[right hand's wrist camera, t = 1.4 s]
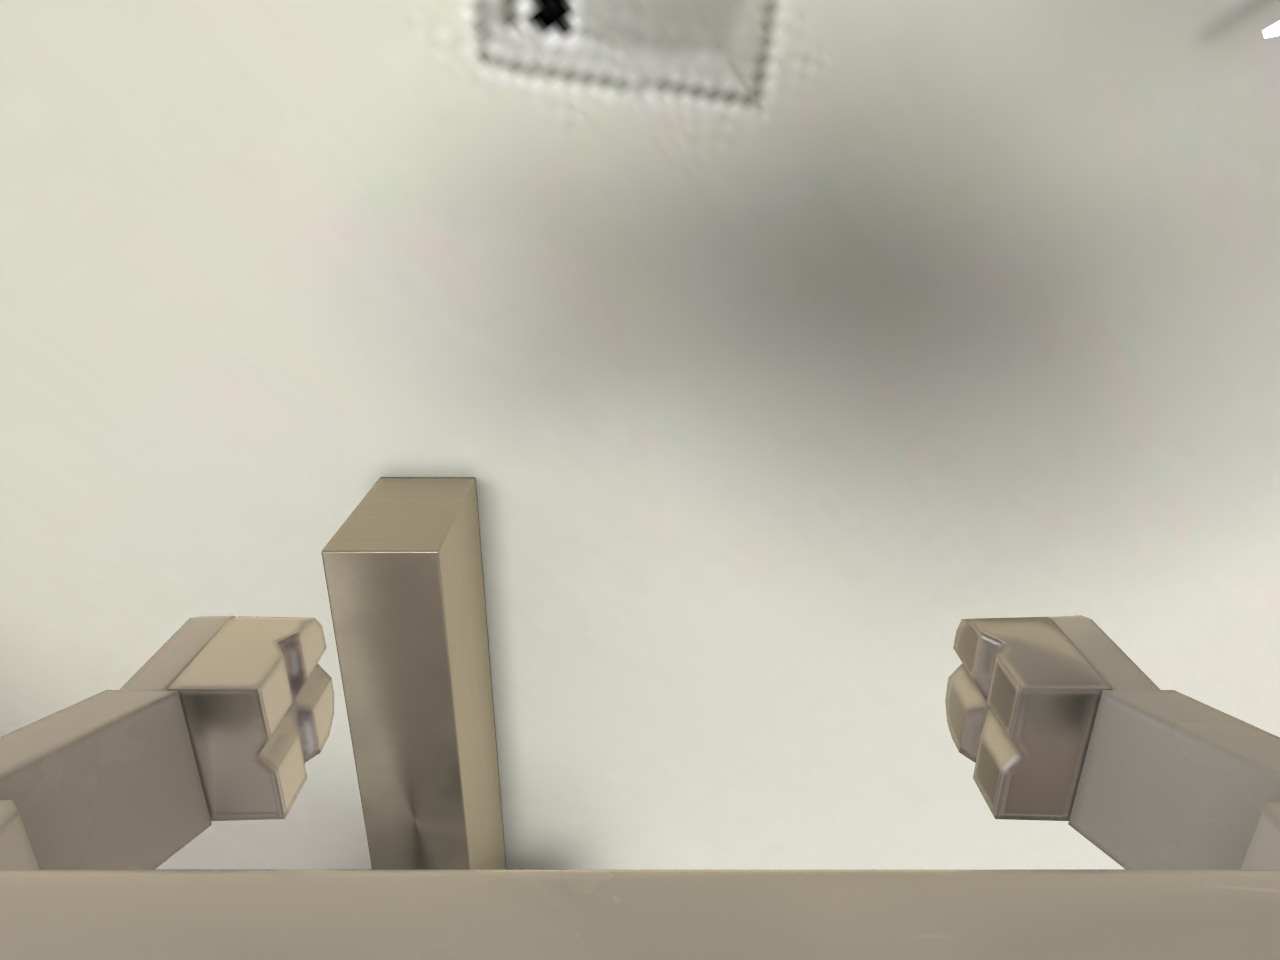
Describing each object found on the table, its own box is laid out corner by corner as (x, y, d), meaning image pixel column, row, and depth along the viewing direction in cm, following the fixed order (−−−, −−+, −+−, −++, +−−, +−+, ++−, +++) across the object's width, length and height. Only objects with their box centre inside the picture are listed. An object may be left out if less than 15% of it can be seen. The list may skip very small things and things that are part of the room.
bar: (379, 477, 40) (320, 550, 33) (475, 477, 40) (438, 551, 33) (432, 896, 51) (396, 1024, 43) (508, 895, 51) (486, 1024, 43)
